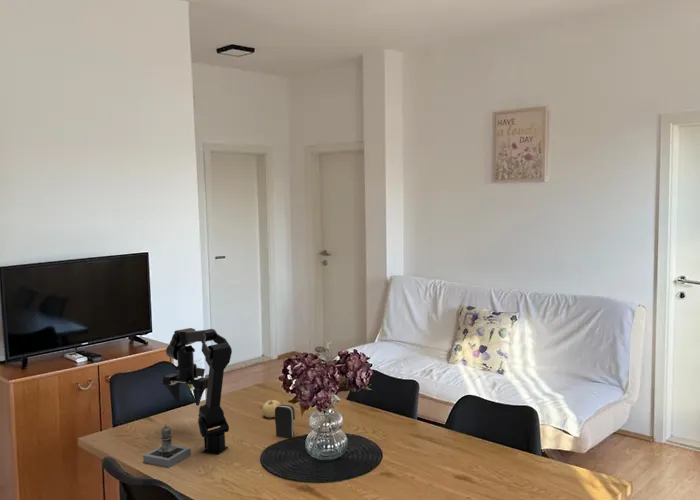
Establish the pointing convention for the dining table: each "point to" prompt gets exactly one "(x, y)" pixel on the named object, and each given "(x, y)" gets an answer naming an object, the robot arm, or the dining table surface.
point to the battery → (284, 420)
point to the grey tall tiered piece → (166, 443)
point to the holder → (155, 458)
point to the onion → (270, 408)
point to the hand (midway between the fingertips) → (187, 403)
